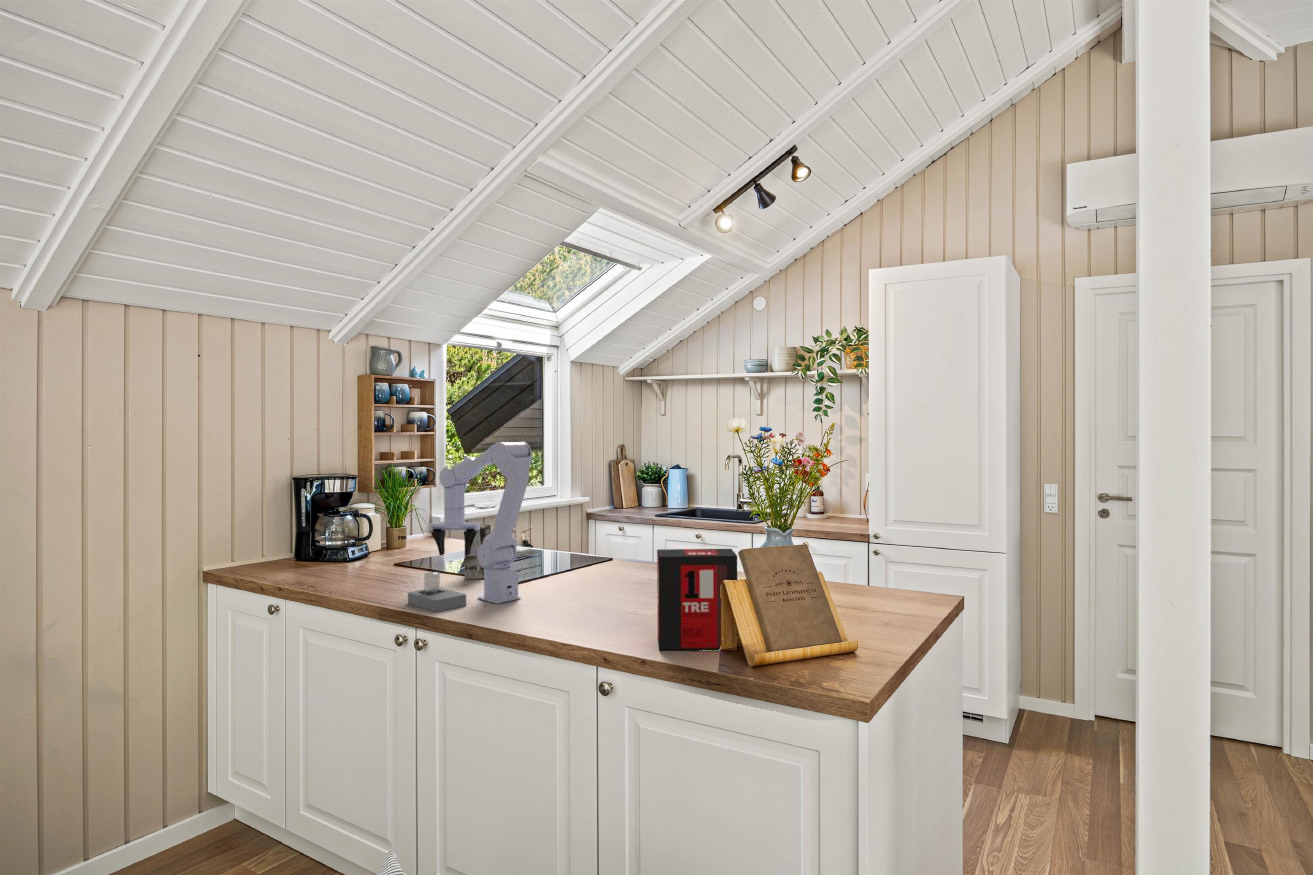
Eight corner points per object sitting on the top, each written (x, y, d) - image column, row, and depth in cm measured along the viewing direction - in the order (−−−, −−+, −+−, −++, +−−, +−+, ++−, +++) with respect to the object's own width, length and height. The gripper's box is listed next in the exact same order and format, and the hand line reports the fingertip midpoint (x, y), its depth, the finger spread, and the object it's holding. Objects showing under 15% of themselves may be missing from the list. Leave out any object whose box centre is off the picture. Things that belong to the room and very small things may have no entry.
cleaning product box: (659, 652, 147) (658, 556, 146) (657, 639, 155) (657, 549, 155) (737, 650, 147) (737, 555, 147) (731, 638, 156) (731, 548, 156)
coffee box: (484, 579, 220) (483, 527, 220) (464, 579, 220) (463, 528, 220) (491, 573, 229) (491, 524, 229) (472, 573, 229) (471, 524, 229)
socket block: (466, 605, 187) (466, 594, 187) (435, 612, 180) (435, 600, 180) (437, 597, 196) (437, 586, 196) (408, 603, 189) (407, 592, 189)
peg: (442, 602, 190) (442, 573, 190) (429, 605, 187) (429, 575, 187) (434, 600, 193) (434, 571, 193) (421, 603, 190) (421, 573, 190)
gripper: (483, 506, 208) (483, 552, 208) (435, 506, 209) (435, 552, 209) (475, 509, 201) (475, 556, 201) (426, 509, 202) (426, 556, 202)
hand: (454, 554), depth 205 cm, fingers open, 7 cm apart
